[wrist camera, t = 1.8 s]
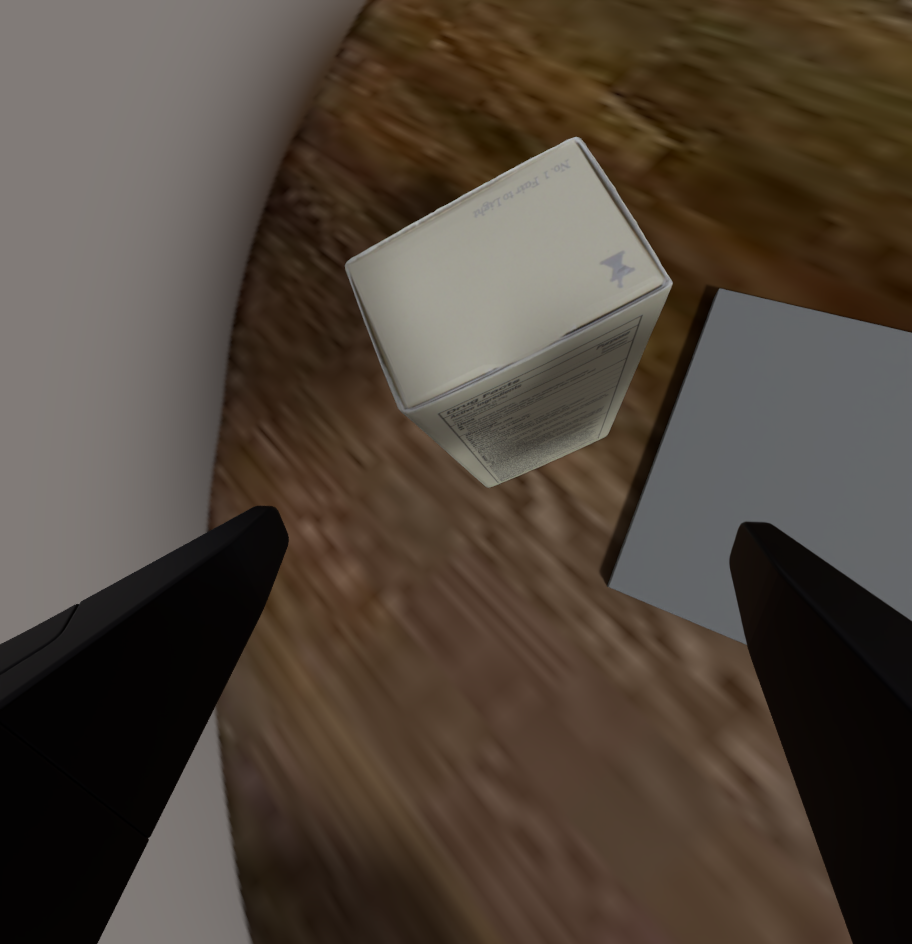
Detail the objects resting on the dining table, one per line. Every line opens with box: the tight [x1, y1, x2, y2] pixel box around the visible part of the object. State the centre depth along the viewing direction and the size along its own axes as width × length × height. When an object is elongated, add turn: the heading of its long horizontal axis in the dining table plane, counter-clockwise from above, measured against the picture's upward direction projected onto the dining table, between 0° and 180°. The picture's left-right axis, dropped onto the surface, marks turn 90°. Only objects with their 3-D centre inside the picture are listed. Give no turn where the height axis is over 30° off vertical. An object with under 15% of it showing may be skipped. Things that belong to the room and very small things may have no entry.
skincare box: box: [345, 137, 672, 487], centre depth 16 cm, size 6×4×12 cm
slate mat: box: [607, 288, 912, 645], centre depth 18 cm, size 14×12×1 cm
